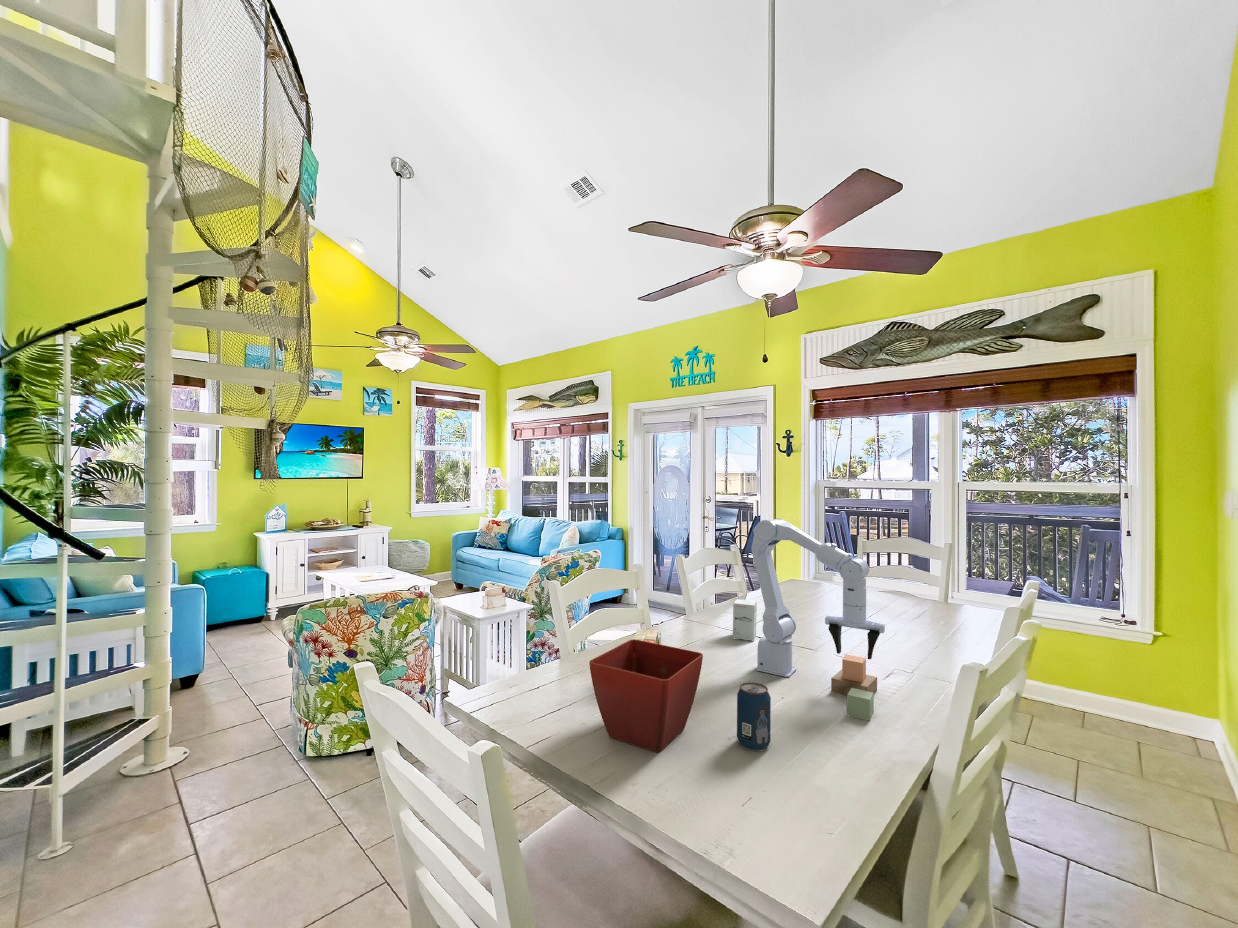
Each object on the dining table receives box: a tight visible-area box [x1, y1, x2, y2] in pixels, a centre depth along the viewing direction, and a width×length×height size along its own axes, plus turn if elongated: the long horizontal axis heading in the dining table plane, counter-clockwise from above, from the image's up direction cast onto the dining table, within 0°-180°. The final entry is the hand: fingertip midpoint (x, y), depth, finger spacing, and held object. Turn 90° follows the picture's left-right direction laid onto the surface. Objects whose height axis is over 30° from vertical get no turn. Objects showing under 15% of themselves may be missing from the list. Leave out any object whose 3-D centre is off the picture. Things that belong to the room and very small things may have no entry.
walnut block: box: [830, 669, 878, 697], centre depth 144 cm, size 9×9×4 cm
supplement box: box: [732, 598, 758, 642], centre depth 191 cm, size 7×7×13 cm
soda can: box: [736, 682, 772, 752], centre depth 115 cm, size 7×7×12 cm
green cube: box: [846, 688, 875, 721], centre depth 131 cm, size 5×5×5 cm
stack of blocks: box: [632, 628, 662, 645], centre depth 156 cm, size 21×6×12 cm, turn 170°
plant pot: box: [588, 639, 704, 753], centre depth 120 cm, size 19×19×17 cm
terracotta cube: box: [841, 654, 867, 683], centre depth 144 cm, size 5×5×5 cm
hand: (854, 655), depth 145 cm, fingers open, 7 cm apart
